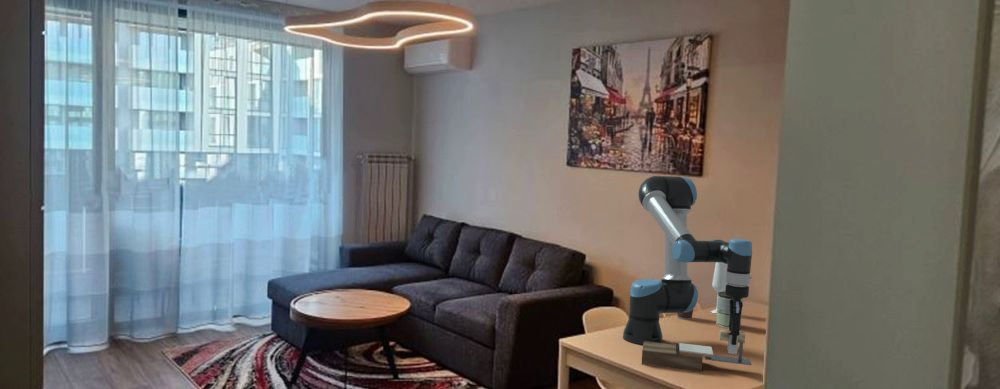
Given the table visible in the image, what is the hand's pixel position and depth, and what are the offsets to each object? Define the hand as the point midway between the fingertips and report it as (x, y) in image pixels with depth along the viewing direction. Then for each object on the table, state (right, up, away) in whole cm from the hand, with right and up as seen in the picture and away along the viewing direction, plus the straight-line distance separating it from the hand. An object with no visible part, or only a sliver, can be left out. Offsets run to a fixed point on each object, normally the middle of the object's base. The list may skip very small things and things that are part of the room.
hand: (732, 351), depth 231 cm
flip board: (-20, -5, +5) cm, 21 cm away
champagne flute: (+23, -2, +85) cm, 88 cm away
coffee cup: (+3, -2, +72) cm, 72 cm away
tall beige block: (-1, -3, +1) cm, 3 cm away
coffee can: (+20, -3, +62) cm, 65 cm away
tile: (-12, -1, +3) cm, 12 cm away
